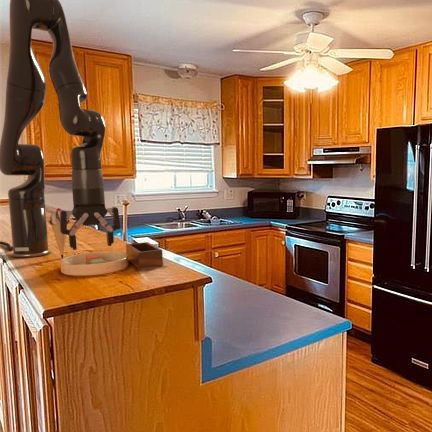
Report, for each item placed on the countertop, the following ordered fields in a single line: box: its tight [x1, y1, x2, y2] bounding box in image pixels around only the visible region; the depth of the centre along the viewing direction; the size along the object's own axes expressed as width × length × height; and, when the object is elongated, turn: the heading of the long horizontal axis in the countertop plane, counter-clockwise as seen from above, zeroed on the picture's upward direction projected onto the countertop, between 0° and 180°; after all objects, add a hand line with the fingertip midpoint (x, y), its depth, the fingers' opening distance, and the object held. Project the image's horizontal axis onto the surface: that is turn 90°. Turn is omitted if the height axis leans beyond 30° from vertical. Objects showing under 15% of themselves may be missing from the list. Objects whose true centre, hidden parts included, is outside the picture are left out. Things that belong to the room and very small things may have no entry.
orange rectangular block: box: [86, 254, 101, 265], centre depth 114 cm, size 4×3×2 cm
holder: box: [125, 241, 164, 270], centre depth 116 cm, size 14×6×5 cm, turn 34°
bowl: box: [59, 250, 130, 276], centre depth 111 cm, size 16×16×3 cm
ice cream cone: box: [48, 207, 72, 259], centre depth 121 cm, size 6×6×15 cm
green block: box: [90, 258, 105, 264], centre depth 109 cm, size 4×3×2 cm
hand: (92, 247), depth 113 cm, fingers open, 8 cm apart
